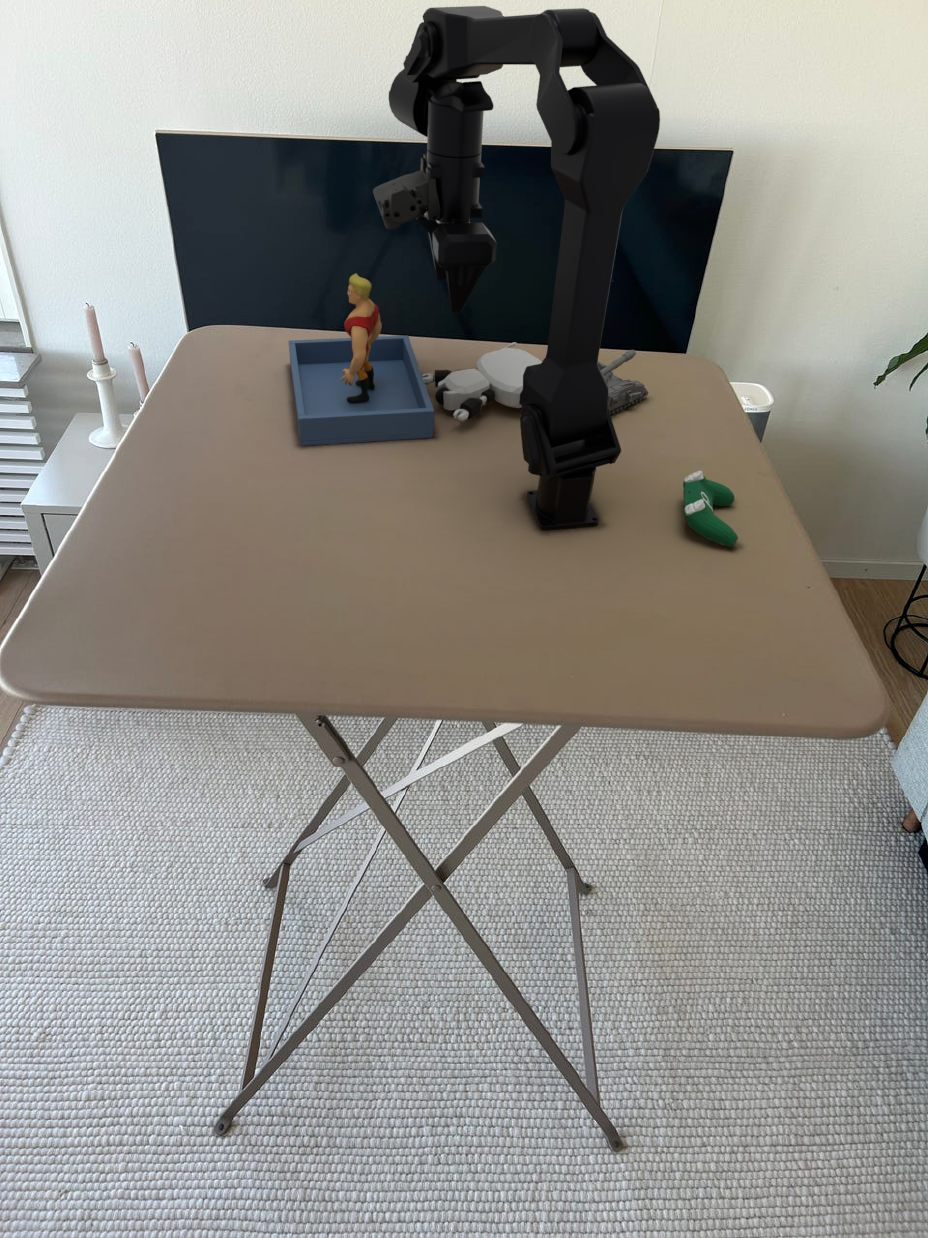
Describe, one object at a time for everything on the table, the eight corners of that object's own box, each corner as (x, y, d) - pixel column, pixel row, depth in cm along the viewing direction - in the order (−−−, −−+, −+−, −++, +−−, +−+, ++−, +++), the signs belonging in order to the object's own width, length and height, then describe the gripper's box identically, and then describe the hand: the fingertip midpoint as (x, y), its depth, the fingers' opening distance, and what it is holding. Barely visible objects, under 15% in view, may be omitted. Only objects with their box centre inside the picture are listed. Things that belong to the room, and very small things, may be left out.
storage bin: (433, 437, 105) (434, 410, 102) (300, 446, 102) (298, 418, 99) (408, 360, 119) (408, 335, 116) (290, 366, 116) (288, 340, 113)
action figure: (357, 374, 114) (353, 257, 104) (384, 378, 114) (383, 260, 103) (337, 410, 107) (331, 288, 97) (366, 414, 107) (363, 292, 96)
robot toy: (458, 442, 106) (566, 411, 110) (457, 409, 102) (568, 378, 107) (416, 395, 113) (518, 367, 118) (414, 363, 110) (519, 335, 115)
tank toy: (601, 372, 119) (607, 335, 115) (655, 400, 114) (663, 363, 110) (538, 398, 113) (542, 360, 109) (592, 429, 108) (598, 391, 104)
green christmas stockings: (706, 510, 100) (676, 474, 97) (736, 494, 97) (706, 456, 95) (709, 561, 93) (677, 523, 90) (741, 544, 91) (709, 505, 88)
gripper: (367, 125, 98) (370, 266, 109) (390, 179, 85) (391, 333, 95) (465, 125, 100) (458, 263, 111) (503, 177, 87) (491, 329, 97)
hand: (448, 295), depth 103 cm, fingers open, 9 cm apart
